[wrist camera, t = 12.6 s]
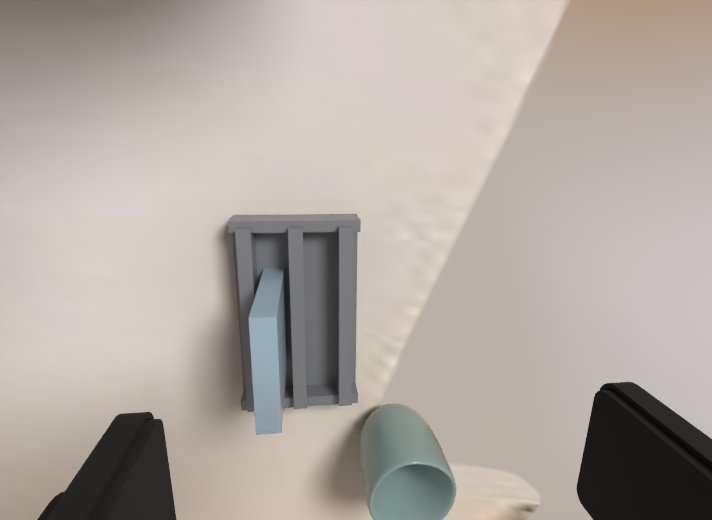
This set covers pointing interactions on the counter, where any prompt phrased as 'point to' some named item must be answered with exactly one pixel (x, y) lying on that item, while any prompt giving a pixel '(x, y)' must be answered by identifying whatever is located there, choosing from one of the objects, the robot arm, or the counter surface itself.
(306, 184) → the counter surface
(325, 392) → the rack
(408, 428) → the cup
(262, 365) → the light blue upright panel
